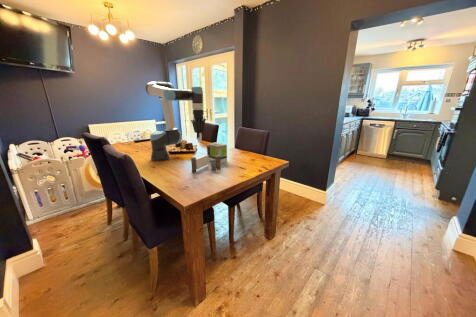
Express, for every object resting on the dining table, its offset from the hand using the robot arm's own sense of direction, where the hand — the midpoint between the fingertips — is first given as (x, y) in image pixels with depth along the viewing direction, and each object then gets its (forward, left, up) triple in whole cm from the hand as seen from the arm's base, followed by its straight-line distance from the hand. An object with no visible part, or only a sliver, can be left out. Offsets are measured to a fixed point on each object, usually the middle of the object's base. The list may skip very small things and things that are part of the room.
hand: (199, 141), depth 145 cm
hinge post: (+12, -8, -20) cm, 24 cm away
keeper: (+13, +6, -20) cm, 25 cm away
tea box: (-7, +15, -20) cm, 26 cm away
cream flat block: (+6, -1, -18) cm, 19 cm away
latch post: (+12, +10, -20) cm, 25 cm away
